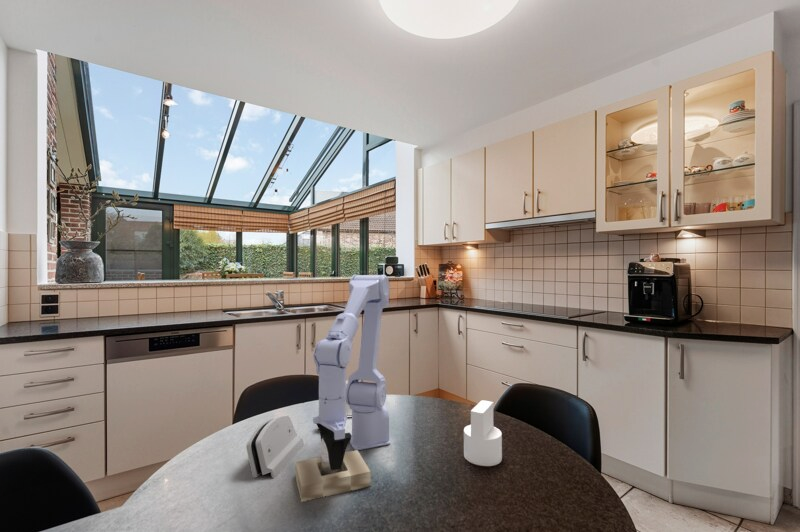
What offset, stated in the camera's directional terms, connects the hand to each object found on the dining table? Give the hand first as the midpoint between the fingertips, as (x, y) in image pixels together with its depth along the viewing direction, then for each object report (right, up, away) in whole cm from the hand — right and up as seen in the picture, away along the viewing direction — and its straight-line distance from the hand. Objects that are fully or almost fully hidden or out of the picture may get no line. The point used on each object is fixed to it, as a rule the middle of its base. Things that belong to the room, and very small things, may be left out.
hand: (332, 459), depth 77 cm
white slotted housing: (-15, -5, +9) cm, 19 cm away
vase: (-1, -6, +38) cm, 38 cm away
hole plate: (0, -4, 0) cm, 4 cm away
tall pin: (0, -4, 0) cm, 4 cm away
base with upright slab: (+35, -5, +10) cm, 36 cm away
